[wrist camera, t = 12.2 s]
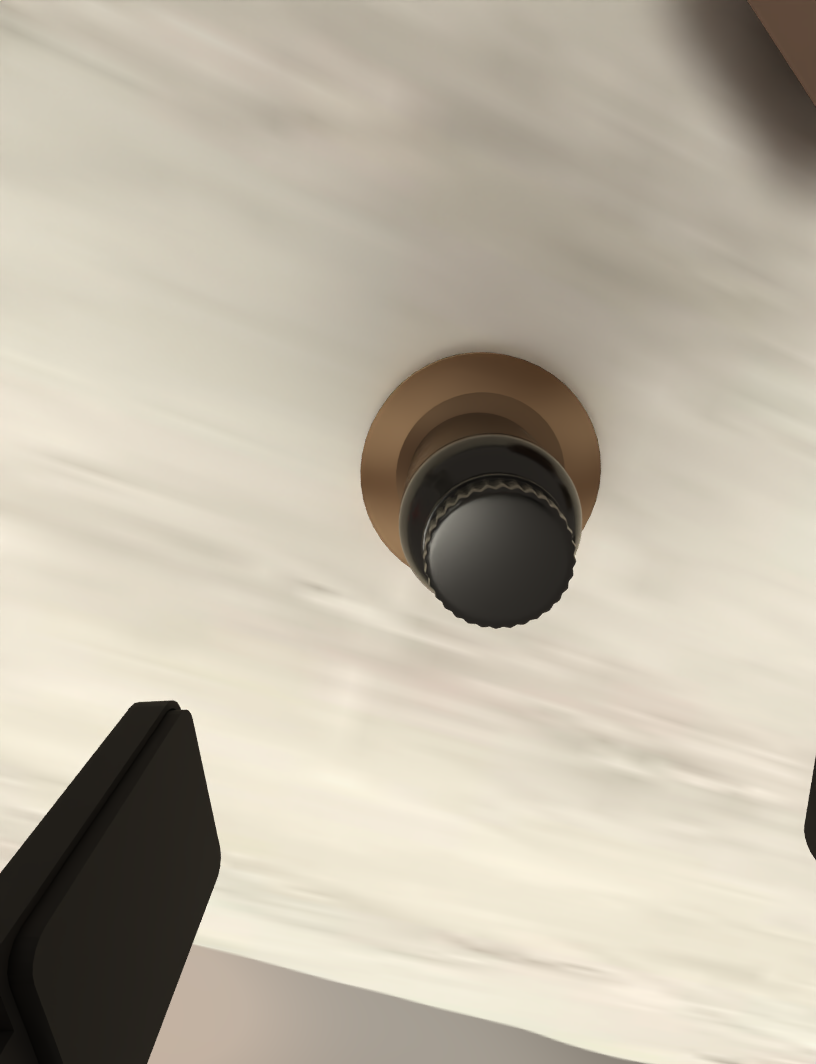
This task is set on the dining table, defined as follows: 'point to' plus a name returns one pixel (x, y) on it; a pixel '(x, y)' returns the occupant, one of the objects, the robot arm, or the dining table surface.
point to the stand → (470, 390)
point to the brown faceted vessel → (792, 35)
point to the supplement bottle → (489, 520)
